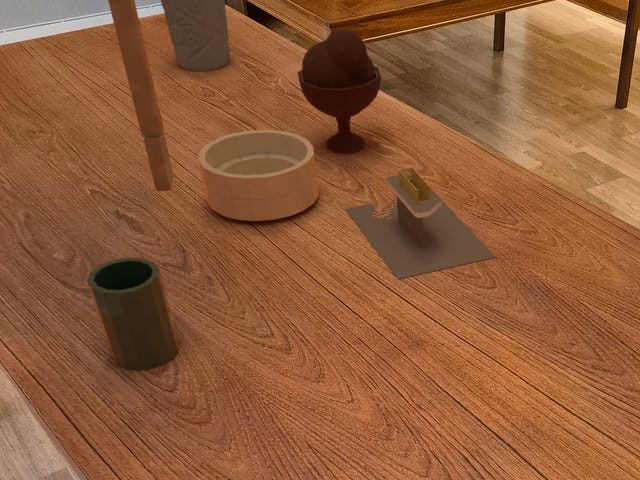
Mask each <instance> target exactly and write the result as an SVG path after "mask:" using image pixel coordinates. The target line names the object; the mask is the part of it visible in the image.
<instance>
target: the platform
mask: <svg viewBox="0 0 640 480" xmlns="http://www.w3.org/2000/svg"><path fill="white" fill-rule="evenodd" d="M385 182H386V185H387V186H388V188H390V189H391V190H392V192H393V193H394V194H395V195H396V198H394V199H396V200H394V199H392V200H394V201H390V203H391V202H395V201H397V202H396V203H397V205H393V206H388V207H385V208H383V211H381V213H382V212H385V211H388V210H391V211H390V212H387V213H390V214H388V216H386V217H385V216H384V217H383V218H382V217H381V218H380V219H379V218H375V217H377V216H380V215H384V214H387V213H383V214H380V215H377V216H374V217H372V216H373V215H376V214H377V213H378V212H377V211H376V210H375V207H374V206H373V203H368V204H363V205H357V206H353V207H347V208H345V211H346V212H347V214H348V215H349V216H350V218H351V219H352V220H353V222H354V223H355V225H356V226H357V227H358V229H359V230H360V231H361V232H362V234H363V235H364V237H365V238H366V239H367V240H368V242H369V243H370V245H371V246H372V247H373V249H374V250H375V252H377V254H378V255H379V257H380V258H381V259H382V260H383V262H384V263H385V264H386V266H387V267H388V268H389V270H390V271H391V273H392V274H393V275H394V276H395V278H396V279H397V280H401V279H406V278H410V277H413V276H418V275H422V274H427V273H432V272H436V271H441V270H445V269H450V268H454V267H459V266H462V265H467V264H472V263H476V262H481V261H484V260H489V259H493V258H496V256H495V255H494V254H493V253H492V252H491V250H489V248H487V246H486V245H485V244H484V243H483V242H482V241H481V240H480V239H479V238H478V237H477V235H475V234H474V233H473V231H472V230H471V229H470V228H469V227H468V225H466V224H465V223H464V222H463V220H461V218H460V217H459V216H458V215H457V213H455V212H454V211H453V210H452V208H451V207H450V206H449V205H447V203H446V202H445V201H444V200H443V199H442V198H441V197H440V196H439V195H438V193H436V191H434V190H433V189H432V186H431V185H430V184H429V183H428V182H427V181H426V180H425V179H424V177H422V176H421V174H420V173H419V172H418V171H417V170H416V169H415V168H414V167H413V166H410V167H405V168H400V169H398V174H397V175H396V174H395V175H390V176H387V177H385ZM396 203H391V204H390V205H392V204H396ZM379 204H380V203H379ZM375 205H376V204H375ZM394 206H395V207H394ZM377 207H378V206H377ZM390 207H394V208H392V209H387V208H390ZM384 209H387V210H384ZM374 212H376V213H374ZM372 213H373V214H372ZM390 217H392V218H390ZM387 218H390V219H387Z"/></svg>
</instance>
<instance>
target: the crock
mask: <svg viewBox="0 0 640 480" xmlns="http://www.w3.org/2000/svg"><path fill="white" fill-rule="evenodd" d="M86 283H87V286H88V289H89V292H90V295H91V298H92V301H93V305H94V307H95V308H94V309H95V310H96V314H97V316H98V320H99V324H100V325H101V328H102V332H103V334H104V335H103V336H104V338H105V341H106V344H107V347H108V350H109V353H110V356H111V358H112V360H113V361H114V363H115V364H116V365H117V366H119V367H121V368H122V369H124V370H129V371H148V370H152V369H156V368H159V367H162V366H164V365H166V364H167V363H169V362H171V361H172V360H173V359H174V358H175V357H176V356H177V354H178V353H179V349H180V342H179V338H178V334H177V330H176V326H175V323H174V319H173V314H172V312H171V307H170V303H169V301H168V297H167V292H166V289H165V285H164V282H163V277H162V272H161V270H160V268H159V267H158V265H157V264H156V263H155V262H154V261H151V260H149V259H145V258H143V257H123V258H117V259H112V260H109V261H107V262H104V263H102V264H100V265H98V266H96V267H95V268H93V270H92V271H90V272H89V273H88V277H87V280H86Z"/></svg>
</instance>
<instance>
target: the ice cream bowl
mask: <svg viewBox="0 0 640 480" xmlns="http://www.w3.org/2000/svg"><path fill="white" fill-rule="evenodd" d="M301 63H302V65H301V70H299V71H297V76H298V77H297V78H298V81H299V85H300V88H301V92H302V94H303V96H304V97H305V99H306V101H307V102H308V103H309V104H310V105H311V106H312V107H313V108H315V110H318V111H319V112H321V113H323V114H325V115H327V116H330V117H332V118H335V120H336V122H337V132H336V133H334V134H333V135H332V136H330V137H329V138H328V139H326V142H325V145H326V150H328V151H331V152H333V153H335V154H352V153H357V152H360V151H362V150H363V149H364V148H365V147H366V143H365V140H364V138H363V136H361V135H359V134H357V133H355V132H352V130H351V122H350V121H351V118H352V117H354V116H357V115H358V114H359V113H361V112H362V111H364V110H365V109H367V108H368V107H369V106H370V105H371V104H372V102H374V100H375V99H376V98H377V97H378V95H379V94H378V93H379V91H380V89H381V80H382V75H381V73H380V70H379V67H378V66H376V65H374V63H373V60H372V59H371V57H370V55H368V50H367V47H366V44H365V42H364V40H363V39H362V37H361V36H360V35H358V34H357V33H356V32H355V31H353V30H352V29H338V30H333V31H332V32H331V33H329V35H328V36H327V37H326V39H325V40H322V41H319V42H317V43H315V44H313V45H312V46H311V47H309V49H307V51H306V52H305V54H304V56H303V58H302V62H301Z"/></svg>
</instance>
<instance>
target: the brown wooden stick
mask: <svg viewBox="0 0 640 480" xmlns="http://www.w3.org/2000/svg"><path fill="white" fill-rule="evenodd" d="M107 2H108V6H109V9H110V12H111V17H112V22H113V26H114V30H115V34H116V37H117V41H118V45H119V50H120V54H121V58H122V61H123V66H124V70H125V74H126V77H127V81H128V87H129V90H130V94H131V98H132V101H133V106H134V109H135V110H134V111H135V115H136V118H137V123H138V126H139V130H140V134H141V137H142V138H143V144H144V148H145V151H146V155H147V159H148V165H149V168H150V171H151V175H152V180H153V184H154V188H155V192H170V191H172V187H173V182H174V177H175V173H174V170H173V165H172V161H171V157H170V152H169V148H168V143H167V140H166V135H165V131H164V130H165V127H164V123H163V118H162V114H161V110H160V106H159V100H158V95H157V91H156V88H155V83H154V80H153V76H152V75H153V74H152V70H151V67H150V61H149V58H148V52H147V49H146V45H145V41H144V37H143V36H144V35H143V32H142V31H143V30H142V27H141V22H140V19H139V14H138V10H137V5H136V1H135V0H107Z"/></svg>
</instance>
